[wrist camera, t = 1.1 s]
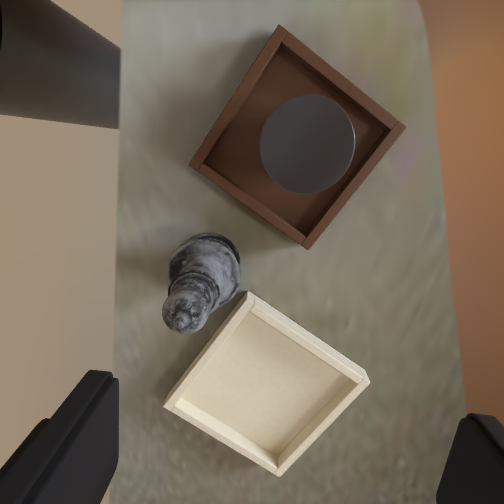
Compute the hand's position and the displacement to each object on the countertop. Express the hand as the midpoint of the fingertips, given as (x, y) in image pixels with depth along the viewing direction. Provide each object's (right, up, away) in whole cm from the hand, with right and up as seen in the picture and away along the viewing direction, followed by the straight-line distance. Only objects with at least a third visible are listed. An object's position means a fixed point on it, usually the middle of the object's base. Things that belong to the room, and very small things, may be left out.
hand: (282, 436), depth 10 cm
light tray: (0, -8, +25) cm, 26 cm away
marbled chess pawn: (-4, +4, +22) cm, 23 cm away
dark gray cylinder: (+2, +13, +19) cm, 23 cm away
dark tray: (+2, +13, +19) cm, 24 cm away
